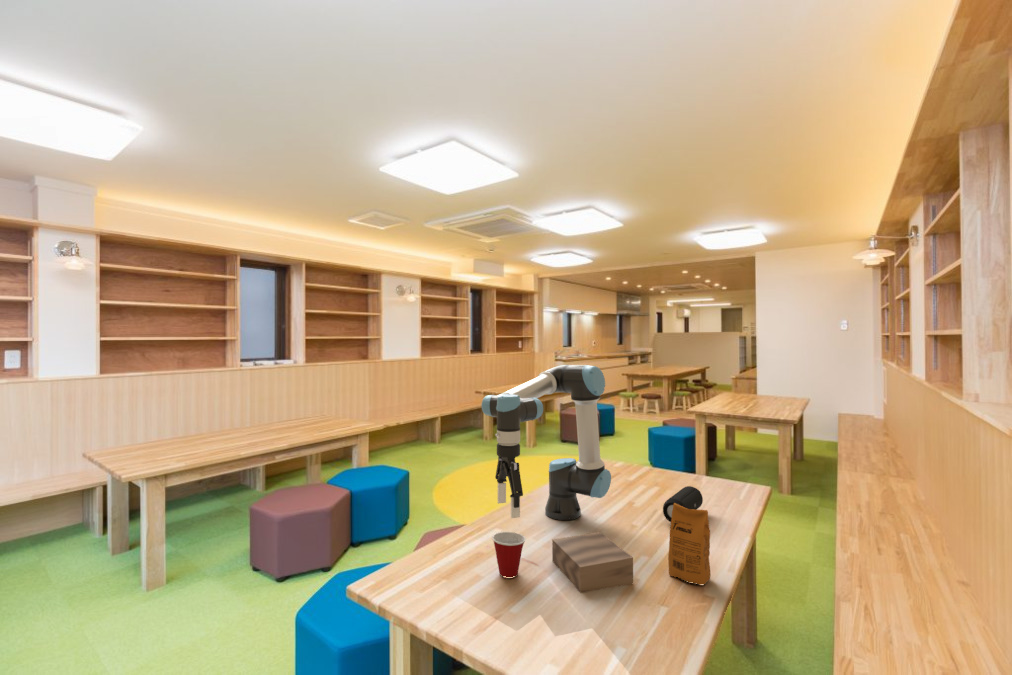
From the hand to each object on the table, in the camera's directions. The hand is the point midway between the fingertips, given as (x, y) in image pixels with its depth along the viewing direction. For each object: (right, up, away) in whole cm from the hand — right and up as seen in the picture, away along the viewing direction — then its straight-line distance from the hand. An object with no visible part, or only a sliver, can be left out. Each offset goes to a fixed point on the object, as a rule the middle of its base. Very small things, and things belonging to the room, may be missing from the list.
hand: (508, 509), depth 146 cm
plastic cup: (0, -21, 0) cm, 21 cm away
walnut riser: (+27, -20, 0) cm, 33 cm away
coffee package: (+57, -20, -2) cm, 61 cm away
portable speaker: (+75, -21, +48) cm, 91 cm away
